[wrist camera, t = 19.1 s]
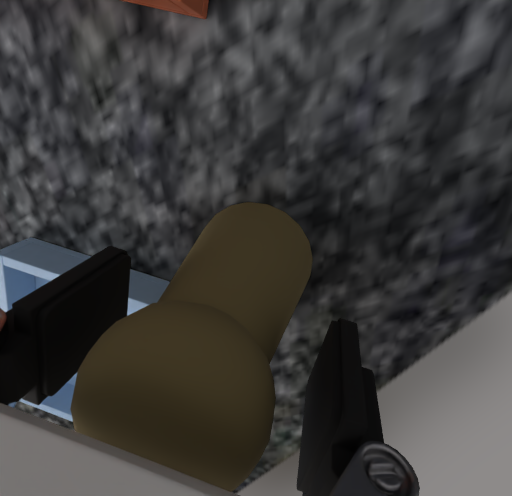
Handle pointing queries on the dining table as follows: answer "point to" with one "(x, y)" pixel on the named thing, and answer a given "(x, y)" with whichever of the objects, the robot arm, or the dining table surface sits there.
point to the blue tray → (46, 269)
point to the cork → (201, 352)
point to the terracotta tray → (178, 6)
